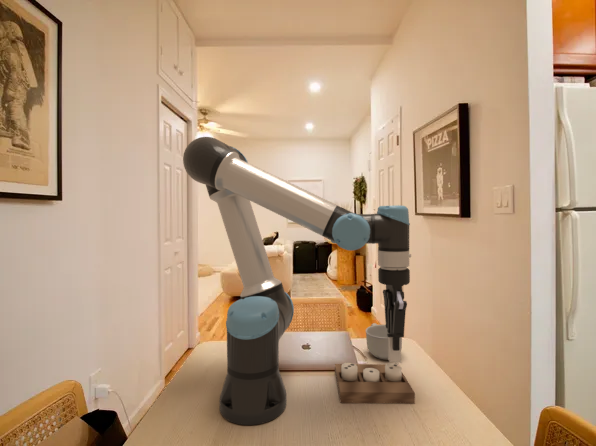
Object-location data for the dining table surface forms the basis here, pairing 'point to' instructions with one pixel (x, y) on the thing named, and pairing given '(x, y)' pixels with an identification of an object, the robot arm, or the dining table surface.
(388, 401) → the panel
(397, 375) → the button two
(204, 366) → the dining table surface
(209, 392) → the dining table surface
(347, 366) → the button three
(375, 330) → the teacup
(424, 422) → the dining table surface
